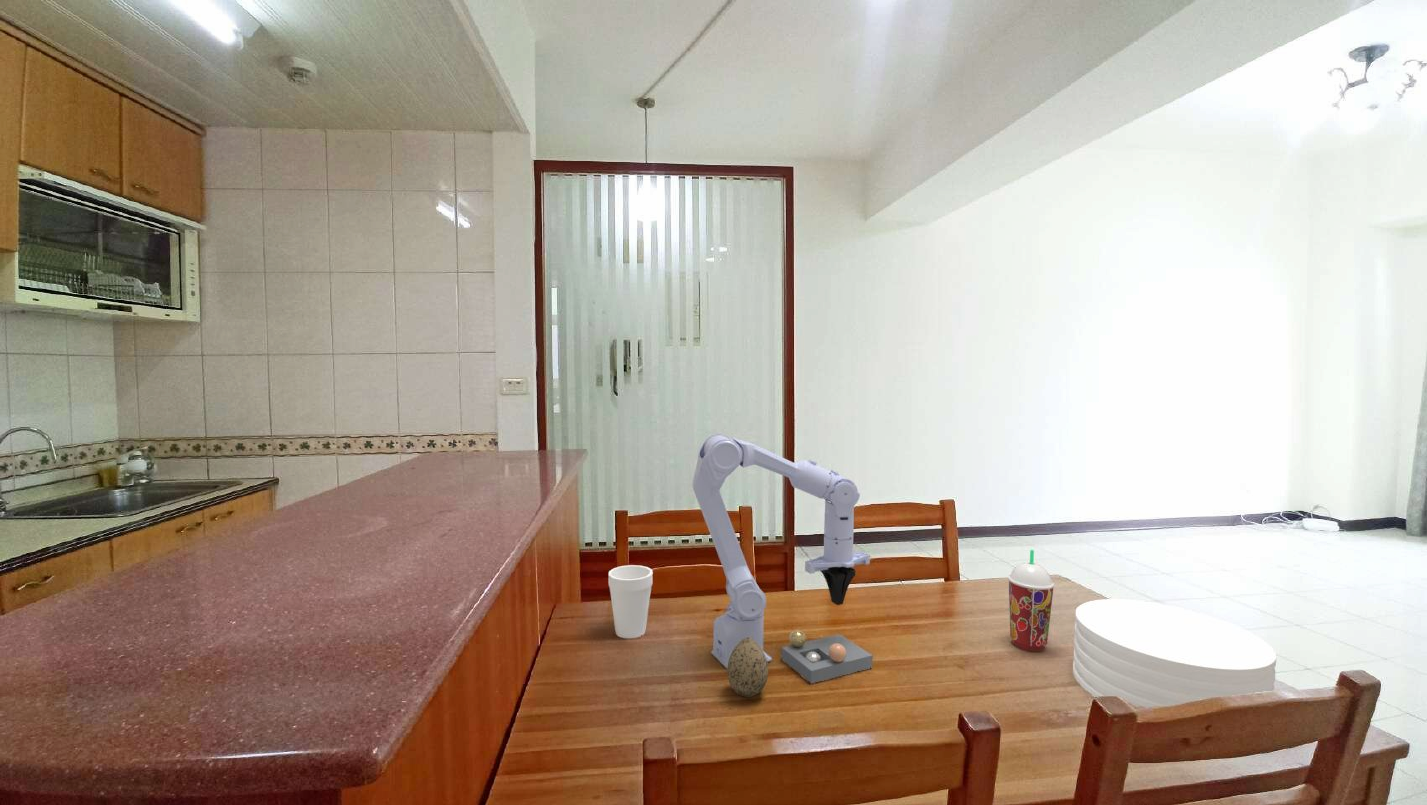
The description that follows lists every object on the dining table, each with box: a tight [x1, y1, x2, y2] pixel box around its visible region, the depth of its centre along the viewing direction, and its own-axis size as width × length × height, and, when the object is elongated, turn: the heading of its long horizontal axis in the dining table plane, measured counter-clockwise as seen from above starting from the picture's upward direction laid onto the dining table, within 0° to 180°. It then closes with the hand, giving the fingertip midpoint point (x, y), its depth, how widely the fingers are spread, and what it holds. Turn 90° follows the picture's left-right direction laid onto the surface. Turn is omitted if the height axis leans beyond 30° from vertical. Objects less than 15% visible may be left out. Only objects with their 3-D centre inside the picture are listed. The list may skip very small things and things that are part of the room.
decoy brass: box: [788, 629, 807, 647], centre depth 116 cm, size 3×3×3 cm
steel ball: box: [805, 652, 822, 663], centre depth 112 cm, size 3×3×3 cm
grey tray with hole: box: [780, 633, 874, 684], centre depth 114 cm, size 14×10×2 cm
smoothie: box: [1007, 549, 1055, 652], centre depth 123 cm, size 8×8×20 cm
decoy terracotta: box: [829, 643, 846, 662], centre depth 111 cm, size 3×3×3 cm
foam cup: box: [608, 564, 654, 639], centre depth 127 cm, size 10×9×13 cm
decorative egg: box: [726, 638, 769, 698], centre depth 103 cm, size 7×7×10 cm
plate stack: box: [1072, 598, 1277, 708], centre depth 106 cm, size 28×28×12 cm
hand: (837, 603), depth 119 cm, fingers closed
